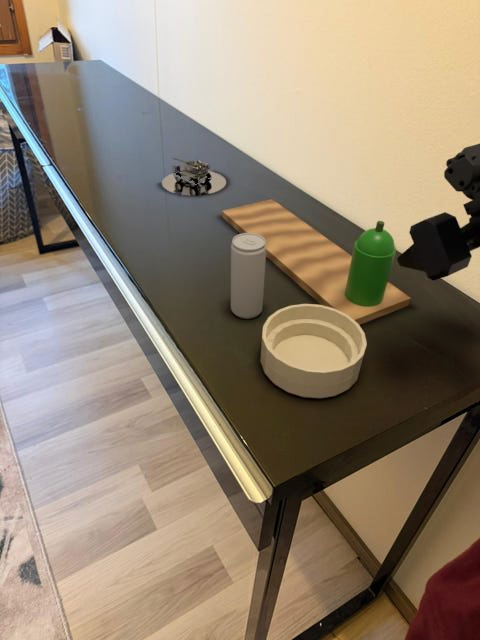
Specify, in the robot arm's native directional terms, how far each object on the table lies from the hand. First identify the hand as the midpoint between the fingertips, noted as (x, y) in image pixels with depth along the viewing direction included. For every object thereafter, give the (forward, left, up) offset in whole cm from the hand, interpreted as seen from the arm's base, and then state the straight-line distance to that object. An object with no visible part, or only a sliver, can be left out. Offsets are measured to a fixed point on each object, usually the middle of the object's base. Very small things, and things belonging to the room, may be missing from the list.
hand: (423, 251), depth 58 cm
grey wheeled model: (+52, -35, -13) cm, 64 cm away
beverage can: (+22, +5, -13) cm, 26 cm away
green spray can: (+6, -4, -12) cm, 14 cm away
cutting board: (+19, -14, -13) cm, 27 cm away
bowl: (+10, +12, -13) cm, 20 cm away
